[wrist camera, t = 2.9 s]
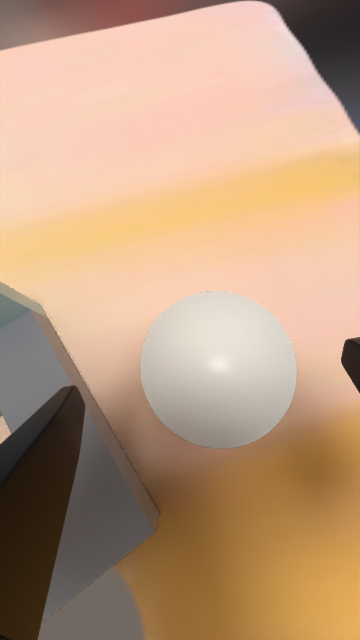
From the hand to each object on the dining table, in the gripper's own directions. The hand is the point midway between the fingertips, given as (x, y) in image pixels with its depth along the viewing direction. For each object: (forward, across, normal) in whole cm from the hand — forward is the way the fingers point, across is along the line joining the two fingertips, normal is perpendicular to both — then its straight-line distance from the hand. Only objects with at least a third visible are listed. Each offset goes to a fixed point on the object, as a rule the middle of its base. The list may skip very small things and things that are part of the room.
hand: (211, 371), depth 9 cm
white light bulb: (+6, 0, +6) cm, 8 cm away
